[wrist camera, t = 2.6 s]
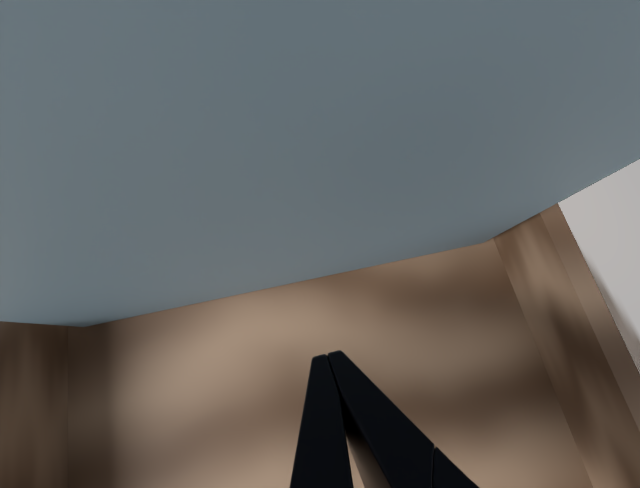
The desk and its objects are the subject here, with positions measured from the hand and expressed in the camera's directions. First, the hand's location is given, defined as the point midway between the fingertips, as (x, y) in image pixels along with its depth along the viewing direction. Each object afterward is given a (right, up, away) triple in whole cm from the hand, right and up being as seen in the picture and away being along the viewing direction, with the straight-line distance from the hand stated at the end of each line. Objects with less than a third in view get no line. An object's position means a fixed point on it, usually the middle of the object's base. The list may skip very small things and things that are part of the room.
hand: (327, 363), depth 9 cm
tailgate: (-2, +2, +10) cm, 10 cm away
